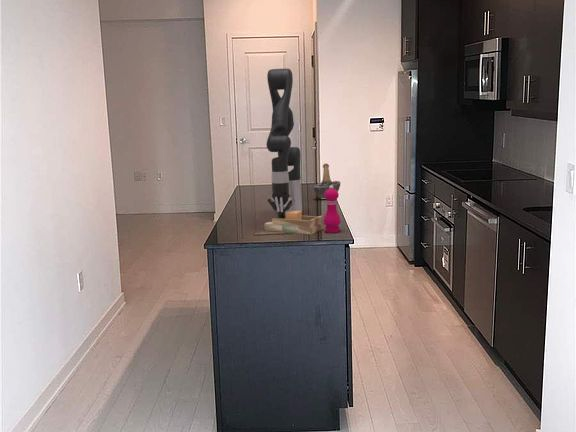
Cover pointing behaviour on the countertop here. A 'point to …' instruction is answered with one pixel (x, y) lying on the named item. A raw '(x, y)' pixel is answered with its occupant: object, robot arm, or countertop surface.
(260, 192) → the countertop surface
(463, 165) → the countertop surface
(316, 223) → the cream tray
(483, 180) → the countertop surface
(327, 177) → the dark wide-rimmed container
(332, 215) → the pepper mill
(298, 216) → the block
